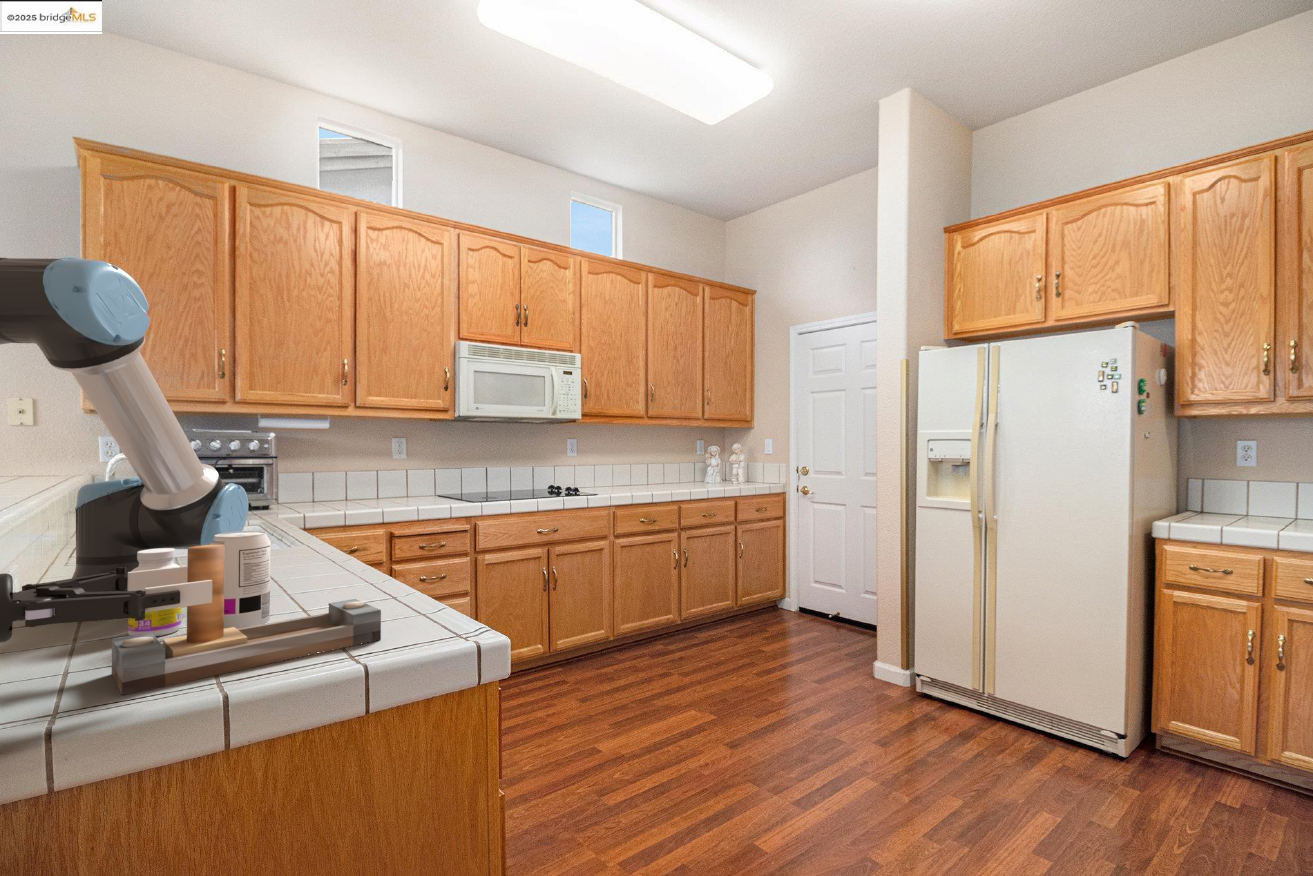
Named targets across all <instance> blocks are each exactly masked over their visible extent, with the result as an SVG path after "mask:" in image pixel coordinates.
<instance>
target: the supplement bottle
mask: <svg viewBox="0 0 1313 876" xmlns="http://www.w3.org/2000/svg"><path fill="white" fill-rule="evenodd" d="M175 557H176V549H173V548H157V549H148V550H142V551H138V552H137V560H138V562H139V566H138V567H137V568H135V569H133V570H132V571H131V572H135V571H144V570H153V569H162V568H172V567H181V566H180V565H179V564H176V563H174V560H175ZM182 616H183V607H179V608H172V609H165V610H158V611H151V612H145V619H144V620H139V621H135V618H134V619H131V618H127V634H128V636H131V635H137V634H143V633H150V632H152V633H153V635H154V636H155V637H156V638H157V637H161V636H165V635H166V636H167V635H169V634H173V633H175V632H178V631H179V630H180V629H181V627H182V623H183V622H182V621H183V620H182V619H183V617H182Z"/></svg>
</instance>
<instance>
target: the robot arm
mask: <svg viewBox="0 0 1313 876" xmlns="http://www.w3.org/2000/svg"><path fill="white" fill-rule="evenodd" d="M149 307H150V305H149V303H148V300H147V298H146V295H145V293H144V291H143V290H142V288H141V286H139V284H138V282H137V281H136V280H135V279H134V278H133V277H132V276H131V275H130V274H128V273H127V272H126V271H124V270H123V269H122V268H120V267H119V266H117V265H113V264H111V263H110V262H106V261H103V260H96V259H85V258H80V257H63V258H35V257H34V258H30V257H29V258H27V257H26V258H23V257H22V258H13V257H12V258H11V257H10V258H9V257H0V345H7V344H36V346H38V347H39V350H41V352H42V354H43V356H44V357H45V359H46V360H47V361H48V363H49V364H50V365H51V366H52V367H53V368H55V369H58V370H61V371H66V372H69V373H71V374H72V376H73V377H74V379H75V380H76V382H77V384H78V385H79V386H80V389H81V390H82V391H83V393H84V395H85V396H86V397H87V399H88V401H89V402H90V404H91V405H92V407H93V408H94V410H95V412H96V413H97V415H98V416H99V418H100V419H101V421H102V422H103V424H104V425H105V427H106V429H107V430H108V432H109V433H110V435H111V436H112V438H113V439H114V441H115V442H116V444H117V445H118V447H119V448H120V450H121V452H122V454H123V455H124V457H125V458H126V460H127V461H128V463H129V465H130V466H131V468H132V469H133V471H134V472H135V474H136V475H137V477H131V478H122V479H121V478H119V479H110V480H104V481H103V480H102V481H97V482H95V481H94V482H91V483H87V484H84V485H82V486H81V487H80V488H79V489H78V492H77V498H76V506H75V508H74V510H75V570H74V573H73V574H72V576H71V578H67V579H61V580H55V581H48V582H42V583H33V584H32V583H27V584H25V585H21V590H19V591H14V586H13V585H14V583H13V582H14V580H13V578H14V577H13V576H12V574H10V573H7V572H6V573H5V572H4V573H0V644H1V643H6V642H8V641H10V639H12V637H13V622H18V621H23V622H25V624H24V627H26V628H36V627H38V626H48V625H54V624H67V623H81V622H96V621H109V620H122V619H123V620H124V619H128V618H131V619H134V618H135V621H139V620H144V619H145V612H151V611H158V610H165V609H172V608H179V607H182V608H184V607H187V606H192V605H199V604H206V603H212V580H205V581H197V582H189V583H187V566H188V565H182V566H180V567H172V568H162V569H153V570H144V571H135V572H131V571H132V570H133V569H135V568H137V567H138V566H139V562H138V560H137V552H138V551H142V550H148V549H157V548H173V549H175V550H188V548H190V547H195V546H203V545H210V544H211V543H212V541H213V539H214V536H215V535H217V534H222V533H229V532H242V531H244V528H245V525H246V522H247V520H248V514H249V499H248V495H247V492H246V490H245V488H244V487H243V486H242V485H239V484H236V483H232V482H229V483H225V482H224V481H223V479H222V478H221V476H220V475H219V473H218V471H217V470H216V468H215V467H213V466H212V465H210V464H207V463H206V464H205V463H201V461H200V459H199V457H198V455H197V454H196V452H195V450H194V448H193V446H192V444H191V442H190V441H189V439H188V436H187V435H186V433H185V432H184V430H183V428H182V426H181V424H180V422H179V421H178V419H177V417H176V415H175V413H174V411H173V410H172V408H171V406H170V405H169V403H168V401H167V399H166V398H165V396H164V393H163V392H162V390H161V388H160V386H159V385H158V383H157V381H156V379H155V377H154V376H153V374H152V372H151V370H150V369H149V367H148V365H147V363H146V360H145V359H144V357H143V355H142V354H141V352H140V351H141V350H142V348H143V347H144V345H145V344H146V337H145V334H147V331H148V328H149V326H150V321H151V317H150V316H149V315H148V314H147V312H150V308H149Z"/></svg>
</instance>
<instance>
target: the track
mask: <svg viewBox="0 0 1313 876" xmlns="http://www.w3.org/2000/svg"><path fill="white" fill-rule="evenodd" d="M237 630H239V631H240V632H241V633H243V634H244V635H245V636H247V644H242V645H237V646H232V647H226V648H221V649H216V650H210V651H205V652H200V653H195V654H189V655H184V656H179V657H173V658H168V659H166V658H165V648H164V647H163V641H159V639H158V638H157V637H155V636H154V635H153V633H152V632H150V633H143V634H137V635H131V636H130V635H126V636H121V637H115V638H111V676H112V678H113V680H114V681H115V684H116V685H117V688H118V691H119V692H120V695H122V694H126V695H130V694H133V693H132V692H135V693H138V691H140V692H144V691H148V689H149V690H155V689H158V688H163V687H167V686H172V685H178V684H181V683H186V682H191V681H195V680H200V679H204V678H209V677H210V678H211V677H214V676H219V675H223V674H228V673H233V672H237V671H243V670H247V669H252V668H256V667H261V666H260V665H262V666H265V665H270V663H271V664H275V663H274V662H276V663H280V662H284V661H283V660H285V661H288V660H287V659H290V660H292V659H291V658H294V659H297V658H296V657H299V658H301V657H300V656H304V657H306V656H305V655H308V654H313V655H315V654H314V653H317V652H322V653H324V652H323V651H327V652H330V651H329V650H332V649H337V650H339V649H338V648H341V649H344V648H343V647H346V648H350V647H349V646H351V645H355V646H359V645H358V644H360V645H362V644H361V643H365V644H368V643H367V642H369V643H373V641H374V642H377V641H376V640H379V641H381V639H382V638H381V637H382V634H381V633H382V631H381V630H382V610H381V609H380V608H377V607H375V606H373V605H370V604H368V603H366V602H365V601H361V600H358V599H357V598H351V599H346V600H340V601H335V602H328V612H327V613H320V614H315V615H308V616H302V617H298V618H292V619H285V620H280V621H273V622H267V623H266V624H262V625H256V626H250V627H244V628H238V629H237ZM351 647H352V646H351ZM332 651H333V650H332ZM308 656H309V655H308Z"/></svg>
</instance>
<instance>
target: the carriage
mask: <svg viewBox="0 0 1313 876" xmlns="http://www.w3.org/2000/svg"><path fill="white" fill-rule="evenodd" d="M224 550H225V546H224V545H203V546H195V547H190V548H188V549H187V565H186V566H187V583H189V582H197V581H205V580H212V603H206V604H199V605H192V606H186V634H185V635H179V636H174V637H173V636H172V637H167V638H163V639H162V642H163V647H164V648H165V658H166V659H168V658H173V657H179V656H184V655H189V654H195V653H200V652H205V651H210V650H216V649H221V648H226V647H232V646H237V645H242V644H247V636H245V635H244V634H243V633H241V632H240V631H239V630H237V629H236V628H235V627H230V628H225V629H224Z"/></svg>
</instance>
